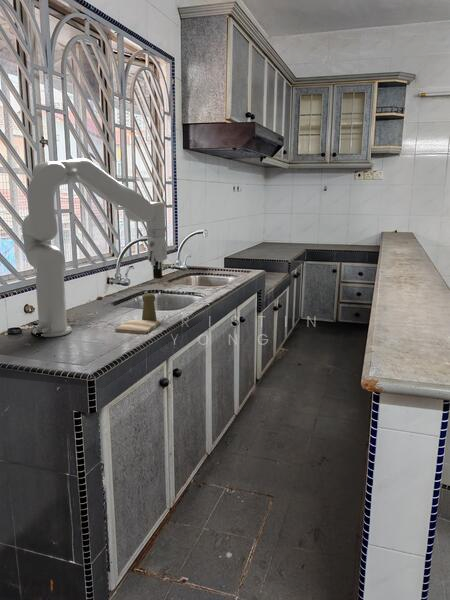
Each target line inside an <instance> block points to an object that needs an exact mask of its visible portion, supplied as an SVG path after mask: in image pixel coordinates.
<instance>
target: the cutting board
mask: <svg viewBox="0 0 450 600" xmlns="http://www.w3.org/2000/svg"><path fill="white" fill-rule="evenodd" d="M159 324H160V325H161V322H160V320H157V321H148V320H142V319H134V318H133V319H132V318H131V319H129V320H128V321H126V322H124V323H122V324H120V325H119V326H117V327H115V332H117V333H129V334H140V335H147V334H148V333H150V332H151V331H153V330H154V329H155V328H156V326H157V325H158V326H160V325H159ZM158 326H157V327H158ZM153 328H154V329H153ZM152 329H153V330H152ZM150 330H151V331H150ZM149 331H150V332H149ZM147 332H148V333H147ZM146 333H147V334H146Z"/></svg>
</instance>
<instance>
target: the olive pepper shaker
mask: <svg viewBox="0 0 450 600" xmlns="http://www.w3.org/2000/svg"><path fill="white" fill-rule="evenodd" d="M141 299H142V302H143V304H142V305H143V306H142V315H141V320H148V321H158V320H157V319H158V318H157V313H156V306H155V301H156V296H155V294H154V293H150V292H149V293H148V292H147V293H144V294H142V296H141Z"/></svg>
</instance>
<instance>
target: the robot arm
mask: <svg viewBox="0 0 450 600" xmlns="http://www.w3.org/2000/svg"><path fill="white" fill-rule="evenodd" d="M31 175H32V178H31V180H30V182H29V184H28V188H27V195H26V197H27V198H26V201H27V209H28V214H27V215H26V216H25V217H24V219H23V220H22V225H21V235H22V239H23V245H24V246H23V247H24V251H25V252H24V253H25V257H26V260H27V262H28V264H29V265H30V266H32V267H33V268H35V269H36V275H35V290H36V301H37V302H36V303H37V305H36V306H37V315H38V317H37V319H38V323H37V327H34V328H32V331H31V332H32V334H34V335H36V333H39V332H42V333H43V334H41V336H40V337H42V336H43V337H45V338H52V337H53V338H54V337H61V336H65V335H68V334H70V333H72V327H71V326H70V325H67V323H68V322H67V321H68V320H67V305H66V292H65V290H66V289H65V271H66V258H65V255H64V253H63V251H62V250H61V249H60V248H59V247H57V246H54V245H52V243H51V241H52V240H54V239H55V238H56V237H57V234H58V222H57V215H56V209H55V194H56V191H57V190H58V189H59V188H60V186H63V185H70V184H78V183H80V184H81V185H83V186H84V187H86V188H87V189H88V190H90V191H91V192H92V193H94V194H95V195H96V196H98V197H99V198H101V199H102V200H104V201H106V202H108V203H111V204H113V205H116V206H120V207H121V208H123V209H124V215H125V216H126V218H127V219H128V220H130V221H132V222H141V223H146V238H147V259H148V260H147V261H148V262H149V263H150V266H152V276H153V279H162V278H163V262H164V261H166V260H167V259H168V252H167V251H168V250H167V240H166V236H167V235H166V234H167V233H166V208H165V204H164V203H163V202H161V201H149V200H147V199H146V198H145V197H144V196H142V195H141V194H140V193H138V192H137V191H135V190H133V189H132V188H130V187H128V186H126V185H125V184H123V183H121V182H119V181H118V180H116V179H114V178H113V177H112V176H111V175H109V174H108V173H107V172H105V171H104V170H103V169H102V168H100V167H99V165H97V164H95V163H94V162H93V161H91V160H90V159H88V158H85V157H81V158H73V159H66V160H56V161H55V160H53V161H44V162H40V163H37V164H36V165H35V166H34V168H33V169H32V172H31ZM43 337H42V338H43Z"/></svg>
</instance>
